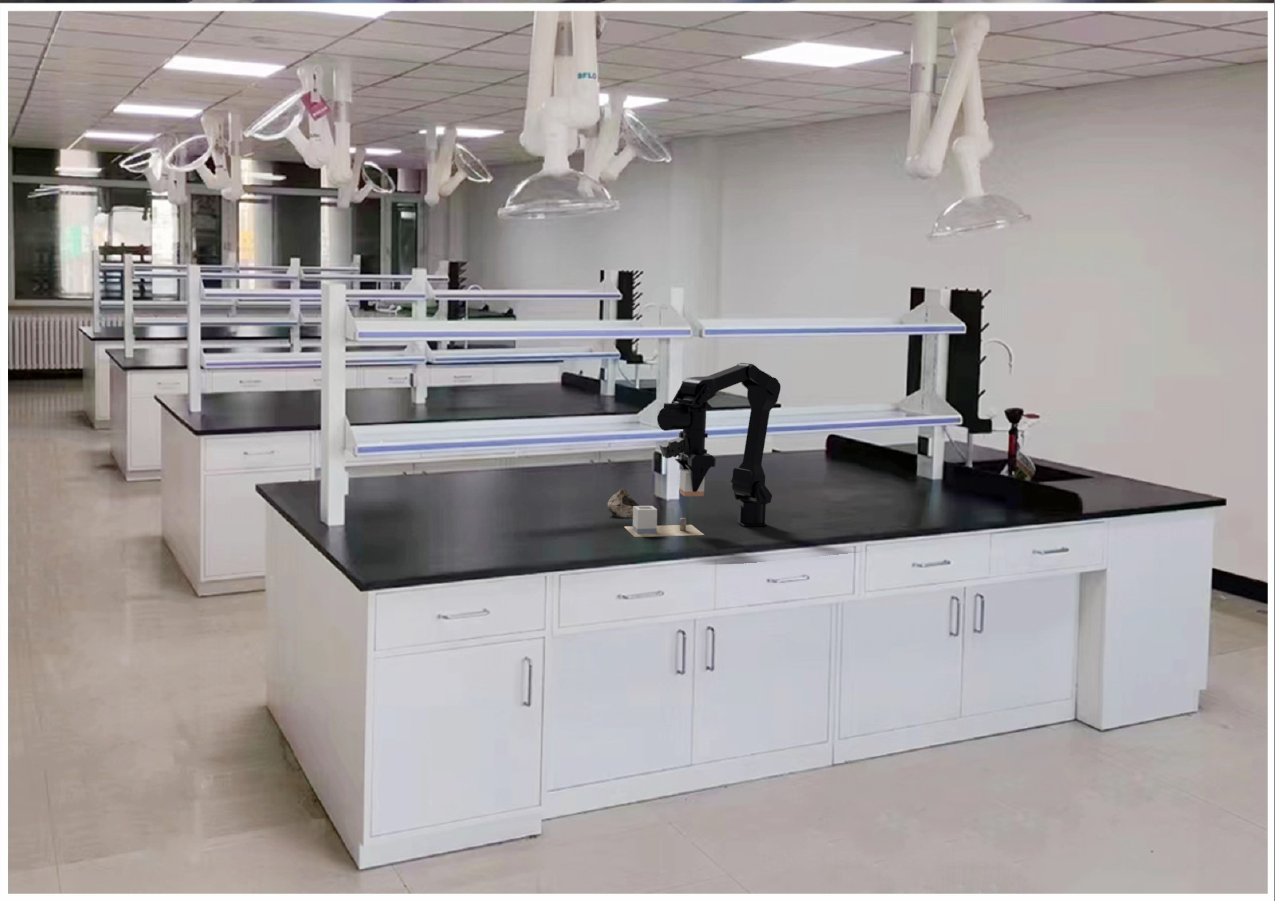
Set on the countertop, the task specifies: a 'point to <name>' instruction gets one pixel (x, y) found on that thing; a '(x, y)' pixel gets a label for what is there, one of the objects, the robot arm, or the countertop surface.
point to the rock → (621, 504)
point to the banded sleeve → (689, 484)
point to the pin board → (669, 530)
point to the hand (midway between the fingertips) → (691, 489)
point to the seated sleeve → (644, 519)
